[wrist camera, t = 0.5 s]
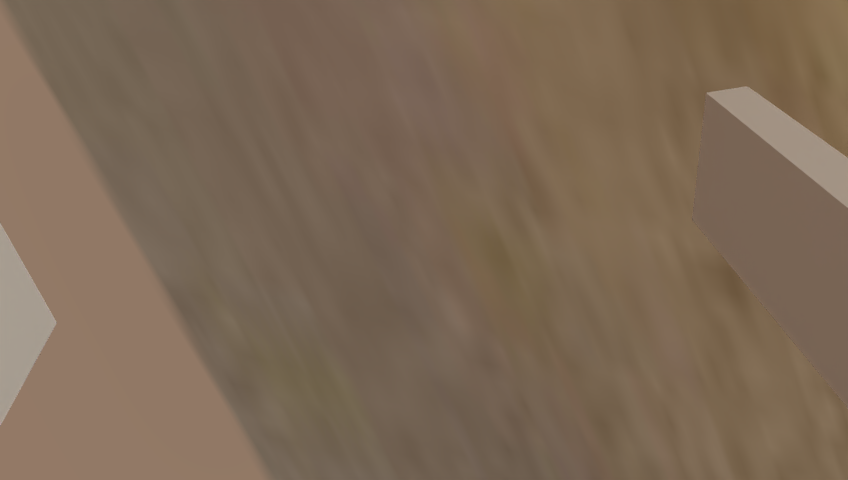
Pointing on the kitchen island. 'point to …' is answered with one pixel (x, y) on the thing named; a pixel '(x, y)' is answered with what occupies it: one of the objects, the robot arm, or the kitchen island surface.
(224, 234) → the kitchen island surface
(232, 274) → the kitchen island surface
